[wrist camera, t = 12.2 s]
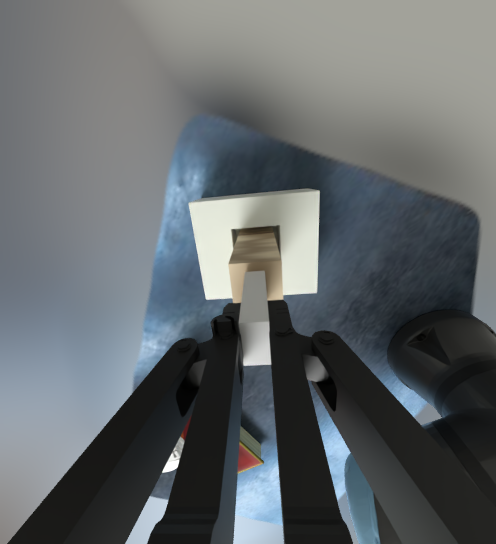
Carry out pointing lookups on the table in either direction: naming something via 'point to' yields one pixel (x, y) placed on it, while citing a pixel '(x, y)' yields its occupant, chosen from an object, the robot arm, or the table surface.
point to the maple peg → (256, 261)
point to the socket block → (258, 213)
